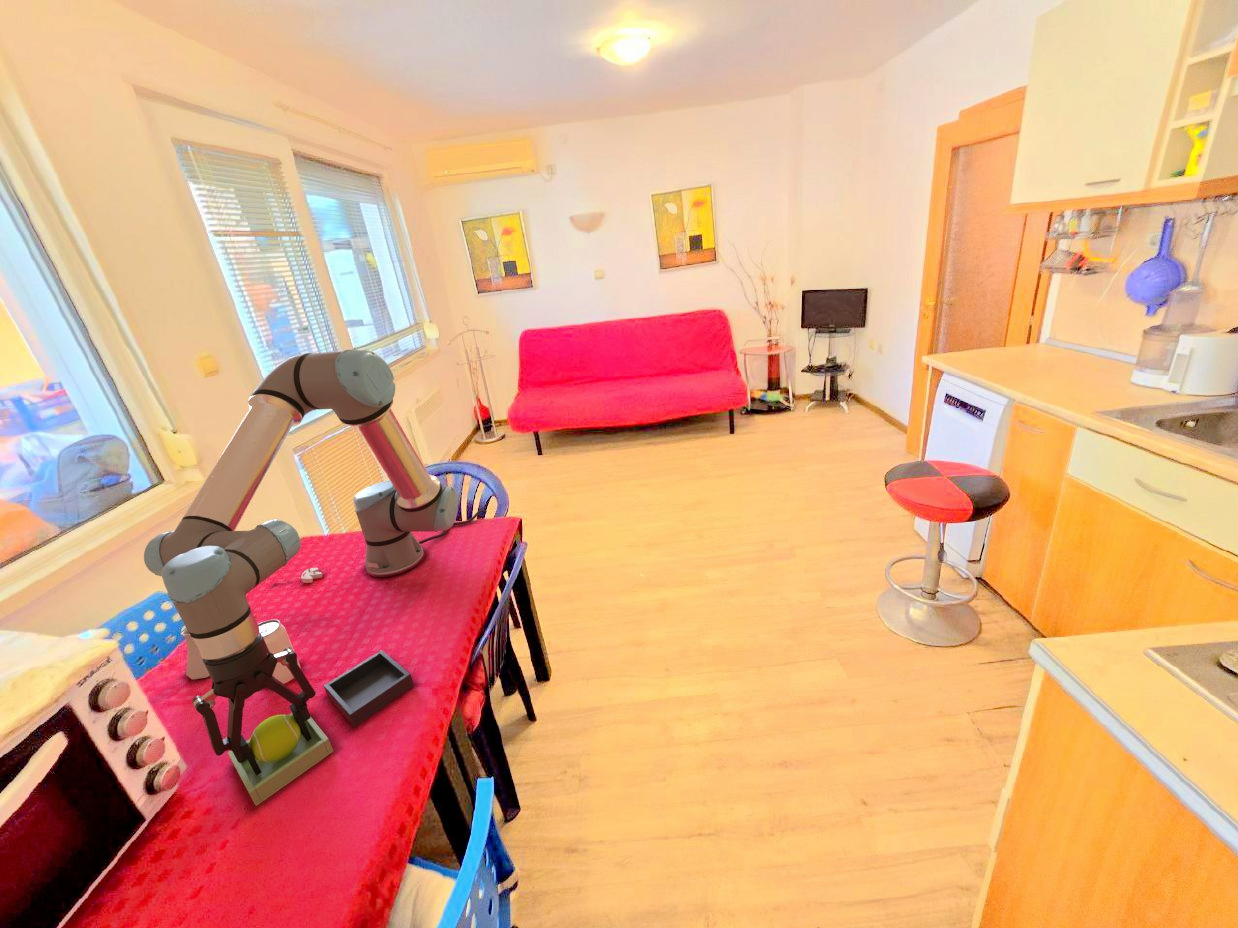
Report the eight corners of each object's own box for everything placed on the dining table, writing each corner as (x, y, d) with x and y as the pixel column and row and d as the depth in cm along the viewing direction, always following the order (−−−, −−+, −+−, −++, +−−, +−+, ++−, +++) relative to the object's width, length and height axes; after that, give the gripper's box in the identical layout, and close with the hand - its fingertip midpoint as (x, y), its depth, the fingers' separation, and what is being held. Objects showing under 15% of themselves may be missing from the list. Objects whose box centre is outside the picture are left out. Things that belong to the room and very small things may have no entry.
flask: (206, 682, 104) (187, 643, 100) (179, 678, 105) (159, 640, 102) (237, 656, 110) (220, 619, 107) (211, 654, 112) (193, 617, 108)
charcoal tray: (385, 661, 105) (381, 649, 104) (414, 685, 98) (410, 673, 97) (327, 697, 97) (323, 685, 96) (354, 727, 90) (349, 714, 89)
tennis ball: (264, 780, 80) (248, 749, 78) (253, 755, 85) (238, 725, 82) (311, 750, 85) (298, 719, 82) (298, 728, 89) (286, 698, 87)
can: (261, 692, 100) (240, 644, 95) (268, 670, 105) (248, 624, 101) (298, 680, 102) (279, 633, 97) (303, 660, 107) (285, 614, 103)
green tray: (307, 718, 93) (302, 705, 92) (333, 751, 85) (328, 738, 84) (233, 765, 85) (227, 752, 83) (255, 806, 77) (249, 792, 76)
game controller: (323, 579, 137) (320, 571, 136) (274, 595, 132) (270, 587, 131) (322, 570, 141) (319, 562, 140) (275, 585, 136) (271, 577, 135)
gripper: (293, 601, 85) (333, 702, 94) (142, 674, 72) (205, 785, 80) (311, 617, 81) (351, 722, 89) (152, 699, 67) (218, 814, 75)
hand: (282, 751), depth 85 cm, fingers closed on tennis ball, 7 cm apart
